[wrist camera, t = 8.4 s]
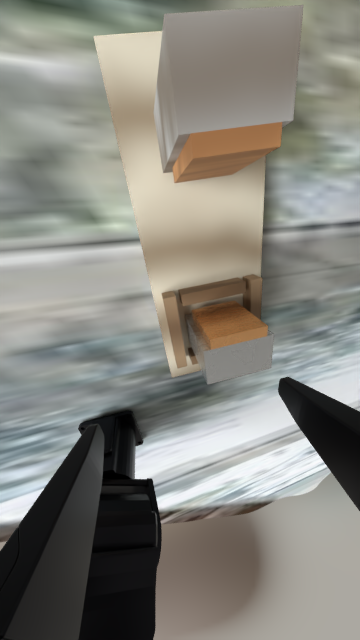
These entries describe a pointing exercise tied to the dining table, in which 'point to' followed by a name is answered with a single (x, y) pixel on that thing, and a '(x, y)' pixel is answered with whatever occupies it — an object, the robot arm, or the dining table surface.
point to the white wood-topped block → (229, 341)
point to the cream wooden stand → (201, 151)
